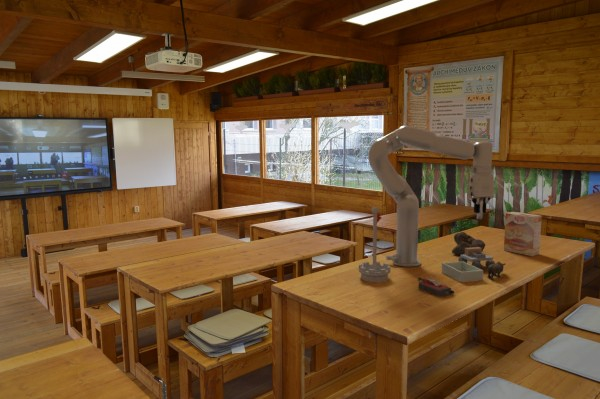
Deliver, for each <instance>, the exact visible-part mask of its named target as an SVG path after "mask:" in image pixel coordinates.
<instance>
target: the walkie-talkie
mask: <svg viewBox="0 0 600 399" xmlns="http://www.w3.org/2000/svg"><path fill="white" fill-rule="evenodd" d="M417 280H418V281H419V282H418V283H417V284H418V286H417V288H418V290H419V291H422V292H425V293H427V294H430V295H433V296H435V297H438V298H442V297H448V296H451V295H454V294H455V291H454V290H452V287H450V286H446V285H444V284H443V283H441V282H439V281H437V280H436V279H433V278H431V277H430V278H429V277H428V278H422V277H419V276H418V277H417Z"/></svg>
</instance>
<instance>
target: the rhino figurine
mask: <svg viewBox="0 0 600 399" xmlns="http://www.w3.org/2000/svg"><path fill="white" fill-rule="evenodd" d="M504 266H506V263H502V262H500V261H497V262H495V264H491V265H489V266H488V268H486V272H487V277H486V278H487V279H490V280H491V281H495V279H494V277H495V276H497V277H498V278H502V276H501V273H502V272H503V271H504Z"/></svg>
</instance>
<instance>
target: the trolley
mask: <svg viewBox="0 0 600 399" xmlns="http://www.w3.org/2000/svg"><path fill="white" fill-rule="evenodd" d="M460 261H463V262H466V263H468V261H469V262H471V265H472V266H475V267H477V268H479V269H481V270H482V263H481V262H483V261H485V268H486V269H487V268H488V266H489V265H491V264H495V263H496V262H495V261H494V257H493V256H491V255H488V254H486V253H485V252H483V251H482V248H480V247H472V248H465V254H463V255H458V261H457V262H460Z"/></svg>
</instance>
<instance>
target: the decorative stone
mask: <svg viewBox="0 0 600 399" xmlns="http://www.w3.org/2000/svg"><path fill="white" fill-rule="evenodd" d="M453 239H454V242H455V243H456V246H455V247H453V248H452V249H451V252H452V254H453V255H456V256H461V255H463V254H465V248H472V247H480V248H482V252H483V251H484V250H485V248H486V243H485V242H484V241H483V240H481V239H476V238H474V237H473V236H471V235H470V234H467V232H464V231H461V232H457V233H455V234H454V236H453Z"/></svg>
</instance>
